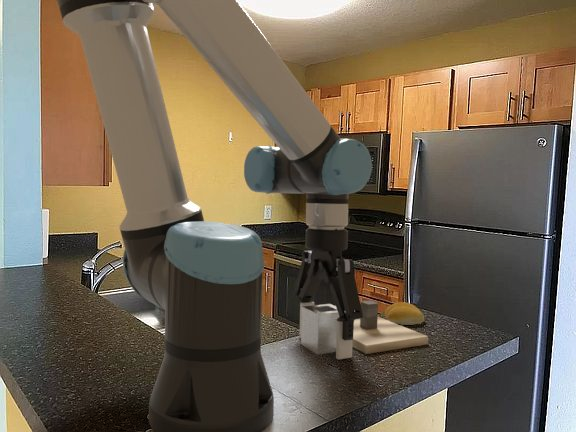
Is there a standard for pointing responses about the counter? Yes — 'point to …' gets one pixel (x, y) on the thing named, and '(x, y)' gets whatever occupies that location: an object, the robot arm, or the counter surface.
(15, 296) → the counter surface
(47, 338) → the counter surface
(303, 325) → the hollow square tube
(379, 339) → the block
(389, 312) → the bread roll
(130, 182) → the robot arm
